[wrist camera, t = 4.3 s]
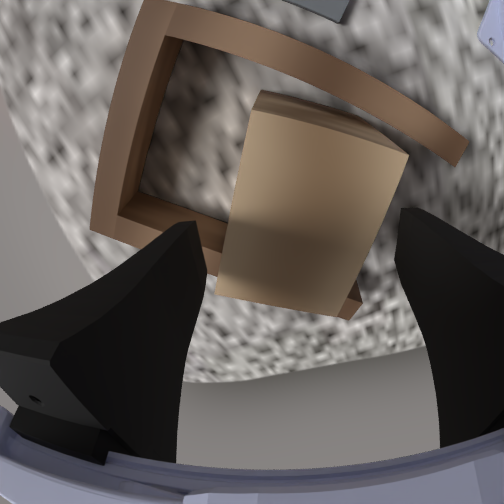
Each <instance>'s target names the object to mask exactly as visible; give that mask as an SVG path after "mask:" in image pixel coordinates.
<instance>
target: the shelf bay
mask: <svg viewBox="0 0 504 504" xmlns="http://www.w3.org/2000/svg"><path fill="white" fill-rule="evenodd" d="M183 40H187V41H191V42H195V43H198V44H202V45H205V46H208V47H212V48H215V49H218V50H221V51H225V52H228V53H231V54H234V55H237V56H240V57H243V58H246V59H248V60H251V61H254V62H257V63H259V64H262V65H265V66H267V67H270V68H273V69H275V70H278V71H280V72H283V73H285V74H288V75H290V76H292V77H295V78H297V79H299V80H302V81H304V82H306V83H309V84H311V85H313V86H315V87H317V88H320V89H322V90H324V91H326V92H328V93H330V94H332V95H334V96H336V97H338V98H340V99H342V100H344V101H346V102H348V103H350V104H352V105H354V106H356V107H358V108H360V109H362V110H364V111H366V112H367V113H369V114H371V115H373V116H375V117H377V118H378V119H380V120H382V121H384V122H385V123H387V124H389V125H391V126H392V127H394V128H396V129H397V130H399V131H401V132H402V133H404V134H406V135H407V136H409V137H411V138H412V139H414V140H415V141H417V142H418V143H420V144H422V145H423V146H425V147H426V148H428V149H429V150H431V151H432V152H434V153H435V154H437V155H438V156H440V157H441V158H443V159H444V160H446V161H447V162H448V163H450V164H451V165H453V166H454V167H456V165H457V163H458V162H459V160H460V158H461V156H462V154H463V153H464V151H465V149H466V147H467V145H468V143H469V141H468V140H467V139H465V138H464V137H463V136H462V135H460V134H459V133H458V132H456V131H455V130H454V129H452V128H451V127H450V126H448V125H447V124H446V123H444V122H443V121H442V120H440V119H439V118H437V117H436V116H434V115H433V114H432V113H430V112H429V111H427V110H426V109H424V108H423V107H421V106H420V105H418V104H417V103H415V102H414V101H412V100H411V99H409V98H407V97H406V96H404V95H403V94H401V93H399V92H398V91H396V90H395V89H393V88H391V87H389V86H388V85H386V84H384V83H383V82H381V81H379V80H377V79H376V78H374V77H372V76H370V75H368V74H367V73H365V72H363V71H361V70H359V69H357V68H355V67H353V66H352V65H350V64H348V63H346V62H344V61H342V60H340V59H338V58H335V57H333V56H331V55H329V54H327V53H325V52H323V51H321V50H318V49H316V48H314V47H312V46H309V45H307V44H305V43H302V42H300V41H298V40H295V39H293V38H290V37H288V36H285V35H283V34H280V33H277V32H275V31H272V30H269V29H267V28H264V27H261V26H258V25H255V24H252V23H249V22H246V21H243V20H240V19H237V18H234V17H230V16H227V15H223V14H220V13H216V12H213V11H209V10H205V9H201V8H197V7H193V6H189V5H184V4H180V3H175V2H170V1H165V0H144V1H143V4H142V6H141V9H140V11H139V14H138V17H137V19H136V22H135V25H134V28H133V31H132V33H131V36H130V39H129V42H128V45H127V48H126V52H125V55H124V58H123V61H122V65H121V68H120V71H119V75H118V78H117V82H116V86H115V89H114V93H113V97H112V101H111V105H110V109H109V114H108V118H107V122H106V127H105V132H104V137H103V142H102V147H101V152H100V157H99V163H98V169H97V175H96V182H95V189H94V196H93V204H92V212H91V221H90V230H92V231H95V232H97V233H100V234H102V235H105V236H108V237H110V238H113V239H115V240H118V241H121V242H123V243H126V244H129V245H131V246H134V247H137V248H139V249H142V248H144V247H145V246H146V245H147V244H149V243H150V242H151V241H153V240H154V239H155V238H156V237H158V236H159V235H160V234H162V233H163V232H164V231H166V230H167V229H168V228H170V227H171V226H173V225H174V224H176V223H178V222H183V221H195V220H196V223H197V227H198V232H199V236H200V241H201V245H202V249H203V254H204V258H205V262H206V266H207V273H208V274H211V275H214V276H216V277H218V272H219V267H220V262H221V256H222V251H223V246H224V241H225V236H226V230H227V225H228V224H227V223H225V222H222V221H219V220H216V219H214V218H211V217H208V216H205V215H203V214H200V213H197V212H195V211H192V210H189V209H186V208H183V207H181V206H178V205H175V204H172V203H170V202H167V201H164V200H161V199H158V198H156V197H153V196H150V195H147V194H144V193H142V192H139V191H138V190H139V185H140V181H141V177H142V172H143V168H144V164H145V160H146V157H147V153H148V149H149V145H150V141H151V138H152V134H153V131H154V127H155V124H156V120H157V117H158V114H159V110H160V107H161V104H162V101H163V97H164V94H165V91H166V88H167V85H168V82H169V79H170V76H171V73H172V70H173V68H174V65H175V62H176V59H177V56H178V54H179V51H180V48H181V46H182V43H183ZM362 304H363V302H362V298H361V295H360V291H359V288H358V284H357V281H356V280H355V282H354V284H353V286H352V288H351V290H350V292H349V294H348V296H347V298H346V300H345V302H344V304H343V306H342V308H341V309H340V311H339V313H338V315H337V317H339V318H342V319H346V320H350V319H351V317H352V316H353V315H354V314H355V312H356V311H357V310H358V309H359V307H360V306H361V305H362Z"/></svg>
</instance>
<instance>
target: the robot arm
mask: <svg viewBox="0 0 504 504" xmlns="http://www.w3.org/2000/svg"><path fill="white" fill-rule="evenodd" d="M477 36H478V39H479V41H480V42H481V43H482V44H483V45H484V46H485V47H486V48H488V49H489V50H490V51H491V52H492V53H493V54H494V55H495V56H496V57H497V58H498V59H499V60H500V61H501V62H502V63H503V64H504V0H490V1H489V4H488V6H487V9H486V11H485V14H484V17H483V19H482V22H481V24H480V27H479V29H478V32H477ZM490 38H491V39H492V40H493V45H492V46H491V45H490V44H489V39H490ZM394 261H395V264H396V268H397V271H398V275H399V278H400V281H401V285H402V287H403V289H404V292H405V294H406V296H407V299H408V301H409V303H410V306H411V308H412V310H413V313H414V315H415V318H416V320H417V322H418V325H419V327H420V330H421V332H422V335H423V338H424V341H425V344H426V348H427V351H428V356H429V360H430V364H431V369H432V374H433V380H434V385H435V391H436V398H437V406H438V416H439V429H440V449H436V450H432V451H428V452H424V453H419V454H415V455H410V456H406V457H400V458H395V459H389V460H384V461H377V462H370V463H363V464H356V465H347V466H339V467H326V468H312V469H292V470H291V469H289V470H251V469H228V468H214V467H213V468H212V467H202V466H192V465H184V464H176V449H177V428H178V416H179V405H180V397H181V389H182V381H183V374H184V368H185V362H186V357H187V352H188V348H189V345H190V341H191V338H192V334H193V331H194V328H195V324H196V321H197V317H198V314H199V311H200V307H201V304H202V300H203V297H204V292H205V285H206V278H207V266H206V262H205V258H204V254H203V249H202V245H201V241H200V236H199V232H198V227H197V223H196V220H195V221H183V222H178V223H176V224H174V225H173V226H171V227H170V228H168V229H167V230H166V231H164V232H163V233H162V234H160V235H159V236H158V237H156V238H155V239H154V240H153V241H151V242H150V243H149V244H147V245H146V246H145V247H144V248H142V249H141V250H140V251H138V252H137V253H136V254H134V255H133V256H132V257H130V258H129V259H128V260H126V261H125V262H123V263H122V264H121V265H119V266H118V267H117V268H115V269H114V270H112V271H111V272H109V273H108V274H106V275H104V276H103V277H101V278H100V279H98V280H96V281H95V282H93V283H92V284H90V285H88V286H86V287H84V288H82V289H80V290H78V291H77V292H74V293H73V294H71V295H69V296H67V297H65V298H63V299H61V300H59V301H57V302H54V303H52V304H50V305H47V306H45V307H43V308H41V309H38V310H35V311H33V312H30V313H28V314H24V315H21V316H18V317H15V318H12V319H10V320H6V321H3V322H1V323H0V387H1V388H2V389H3V390H4V391H5V392H6V393H7V394H8V395H9V396H10V397H11V398H12V400H13V401H15V403H16V404H17V405H19V407H18V408H17V411H16V413H15V415H13V414H12V413H10V412H9V411H8V410H7V409H5V408H4V407H2V406H0V495H1V496H2V497H3V498H5V499H6V500H8V501H9V502H11V503H12V504H504V255H503V254H501V253H499V252H497V251H495V250H493V249H491V248H489V247H487V246H485V245H484V244H482V243H480V242H478V241H477V240H475V239H473V238H471V237H470V236H468V235H466V234H464V233H463V232H461V231H459V230H458V229H456V228H454V227H453V226H451V225H449V224H448V223H446V222H444V221H443V220H441V219H439V218H437V217H436V216H434V215H432V214H430V213H428V212H426V211H424V210H422V209H419V208H401V214H400V222H399V230H398V238H397V245H396V252H395V258H394Z"/></svg>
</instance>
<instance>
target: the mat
mask: <svg viewBox="0 0 504 504" xmlns="http://www.w3.org/2000/svg"><path fill="white" fill-rule="evenodd" d="M282 1H285V2H288V3H290V4H293V5H296V6H298V7H301V8H303V9H306V10H308V11H310V12H313V13H315V14H317V15H320V16H322V17H324V18H326V19H329V20H331V21H333V22H335V23H339V21H340V19H341V17H342V15H343V13H344V11H345V9H346V7H347V5H348V3H349V0H282Z"/></svg>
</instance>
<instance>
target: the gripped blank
mask: <svg viewBox="0 0 504 504" xmlns="http://www.w3.org/2000/svg"><path fill="white" fill-rule="evenodd" d="M408 157H409V155H408V154H407V153H406V152H404V151H403V150H402V149H401V148H400V147H398V146H397V145H396V144H395V143H393V142H392V141H391V140H390V139H388V138H387V137H386V136H384V135H383V134H382V133H380V132H379V131H378V130H377V129H375V128H374V127H373V126H371V125H370V124H368V123H367V122H366V121H364V120H363V119H362V118H360V117H359V116H357V115H354V114H351V113H348V112H345V111H341V110H338V109H335V108H331V107H328V106H324V105H321V104H317V103H314V102H310V101H306V100H303V99H299V98H295V97H291V96H287V95H282V94H278V93H274V92H269V91H265V90H261V91H260V93H259V95H258V97H257V99H256V101H255V103H254V106H253V108H252V110H251V115H250V119H249V124H248V129H247V133H246V138H245V142H244V147H243V152H242V157H241V161H240V166H239V171H238V176H237V181H236V185H235V190H234V195H233V200H232V205H231V210H230V215H229V220H228V225H227V230H226V236H225V241H224V246H223V251H222V256H221V262H220V267H219V272H218V278H217V283H216V289H215V294H216V295H221V296H226V297H231V298H236V299H241V300H246V301H251V302H256V303H261V304H266V305H271V306H277V307H282V308H287V309H293V310H298V311H304V312H310V313H315V314H321V315H327V316H333V317H337V315H338V313H339V311H340V309H341V308H342V306H343V304H344V302H345V300H346V298H347V296H348V294H349V292H350V290H351V288H352V286H353V284H354V282H355V280H356V278H357V276H358V274H359V272H360V270H361V268H362V265H363V263H364V261H365V259H366V257H367V255H368V253H369V251H370V248H371V246H372V244H373V242H374V240H375V237H376V235H377V233H378V231H379V228H380V226H381V224H382V222H383V219H384V217H385V215H386V212H387V210H388V208H389V205H390V203H391V200H392V198H393V196H394V193H395V191H396V188H397V186H398V183H399V181H400V178H401V176H402V173H403V170H404V168H405V165H406V162H407V160H408Z"/></svg>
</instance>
